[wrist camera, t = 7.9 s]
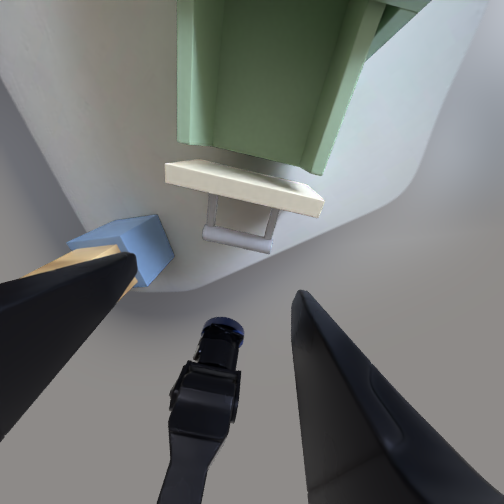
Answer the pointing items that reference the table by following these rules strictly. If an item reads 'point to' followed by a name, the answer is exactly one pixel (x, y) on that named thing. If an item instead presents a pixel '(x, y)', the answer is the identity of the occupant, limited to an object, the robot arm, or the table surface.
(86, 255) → the block
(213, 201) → the drawer
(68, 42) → the table surface
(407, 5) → the cabinet
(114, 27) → the table surface
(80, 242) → the block
